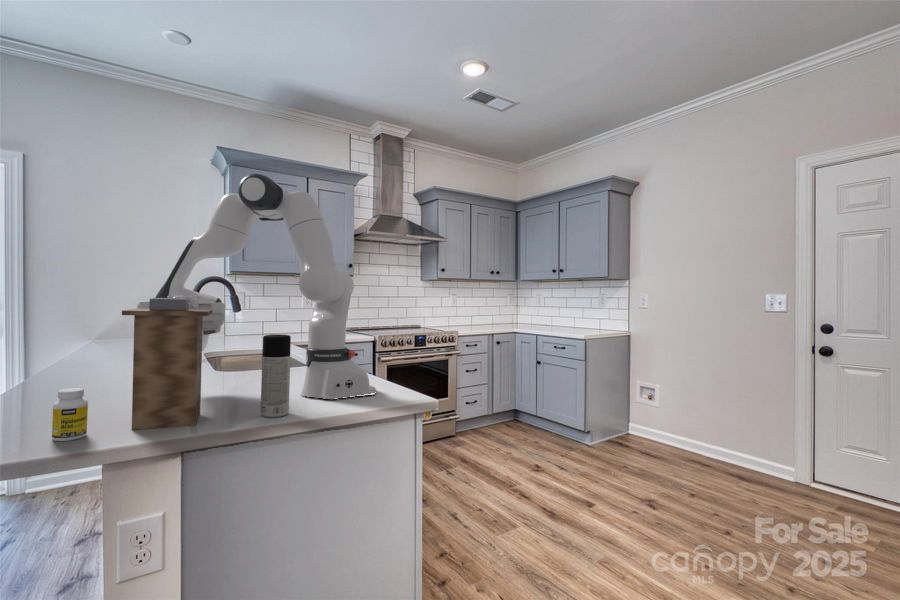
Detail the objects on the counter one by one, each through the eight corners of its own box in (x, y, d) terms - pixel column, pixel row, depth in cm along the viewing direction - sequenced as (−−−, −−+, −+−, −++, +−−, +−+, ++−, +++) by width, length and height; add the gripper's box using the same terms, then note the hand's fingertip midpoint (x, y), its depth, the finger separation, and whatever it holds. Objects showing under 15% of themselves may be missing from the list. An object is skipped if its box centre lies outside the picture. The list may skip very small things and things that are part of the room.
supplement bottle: (57, 443, 85) (58, 393, 85) (47, 438, 88) (48, 390, 88) (91, 436, 90) (92, 389, 90) (81, 431, 93) (82, 385, 93)
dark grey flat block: (197, 305, 116) (197, 295, 116) (186, 310, 99) (186, 299, 99) (166, 305, 113) (166, 294, 113) (149, 310, 96) (149, 298, 96)
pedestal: (209, 413, 109) (212, 309, 109) (204, 425, 99) (207, 311, 99) (133, 418, 103) (135, 308, 103) (119, 432, 93) (121, 310, 93)
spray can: (293, 411, 113) (295, 334, 113) (280, 419, 106) (283, 337, 106) (269, 410, 114) (271, 333, 113) (254, 417, 107) (257, 336, 107)
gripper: (143, 312, 119) (131, 286, 108) (227, 312, 127) (224, 289, 116) (140, 333, 116) (128, 309, 105) (226, 332, 124) (223, 309, 113)
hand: (179, 298), depth 111 cm, fingers closed on dark grey flat block, 3 cm apart
